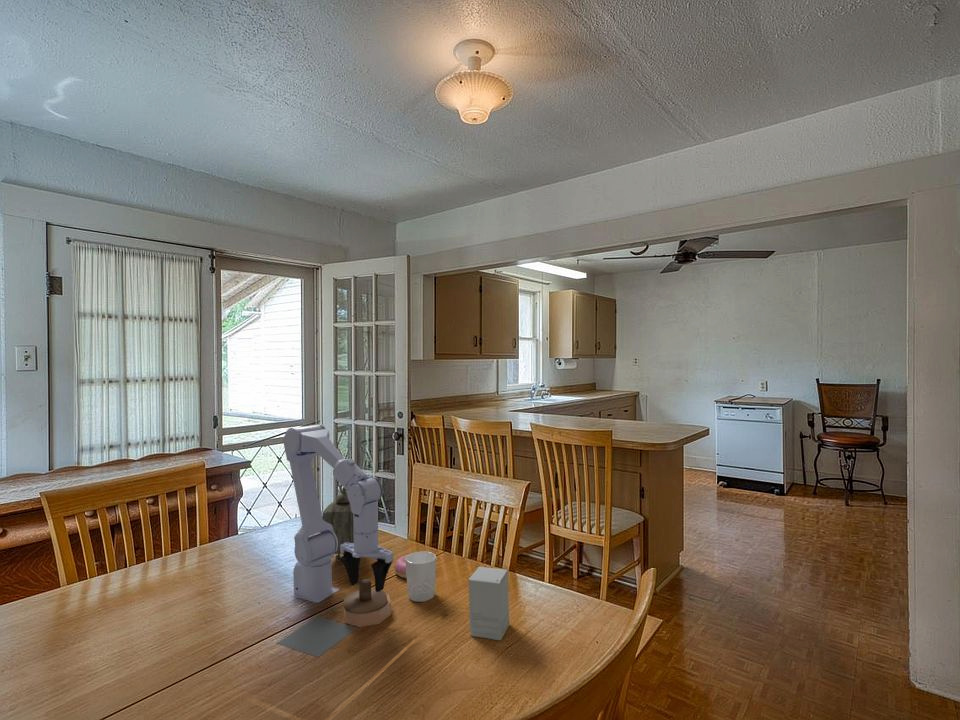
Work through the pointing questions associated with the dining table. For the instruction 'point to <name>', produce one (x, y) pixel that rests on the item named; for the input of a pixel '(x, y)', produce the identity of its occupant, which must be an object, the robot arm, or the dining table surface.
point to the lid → (365, 599)
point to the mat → (317, 636)
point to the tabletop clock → (340, 520)
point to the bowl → (369, 616)
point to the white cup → (421, 575)
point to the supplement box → (489, 603)
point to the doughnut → (401, 567)
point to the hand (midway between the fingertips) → (367, 586)
